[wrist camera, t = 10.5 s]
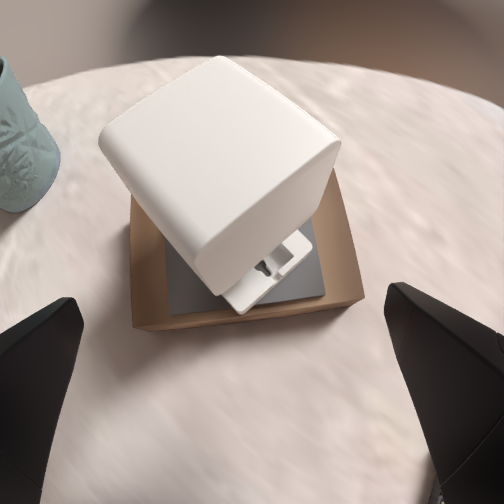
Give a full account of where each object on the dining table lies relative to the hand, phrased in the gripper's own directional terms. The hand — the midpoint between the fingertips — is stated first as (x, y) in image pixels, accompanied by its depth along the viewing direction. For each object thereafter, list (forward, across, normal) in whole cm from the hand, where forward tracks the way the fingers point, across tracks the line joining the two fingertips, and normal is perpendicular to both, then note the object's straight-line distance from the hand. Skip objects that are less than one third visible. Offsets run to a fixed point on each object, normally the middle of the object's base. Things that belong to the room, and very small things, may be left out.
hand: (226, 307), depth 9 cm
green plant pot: (+20, +21, -1) cm, 29 cm away
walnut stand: (+13, 0, +5) cm, 14 cm away
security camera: (+11, 0, +3) cm, 11 cm away
